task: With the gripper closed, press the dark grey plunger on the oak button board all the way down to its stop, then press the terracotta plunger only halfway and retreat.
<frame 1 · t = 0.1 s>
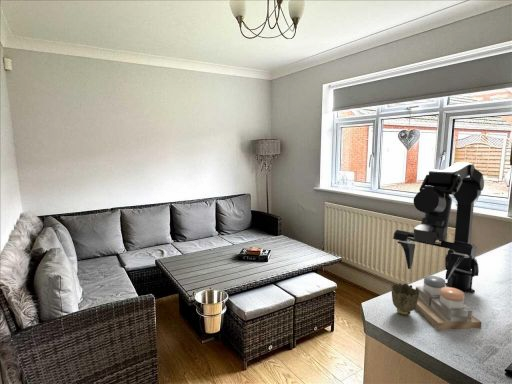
hand: (427, 273, 81), 15 cm above the counter, tool pointing down, fingers open, 9 cm apart
plunger terracotta: (451, 298, 86), point 7 cm above the counter, slide at 0.0 cm
button board: (440, 313, 91), on the counter
cup: (403, 314, 91), on the counter
plunger grey: (434, 286, 94), point 7 cm above the counter, slide at 0.0 cm
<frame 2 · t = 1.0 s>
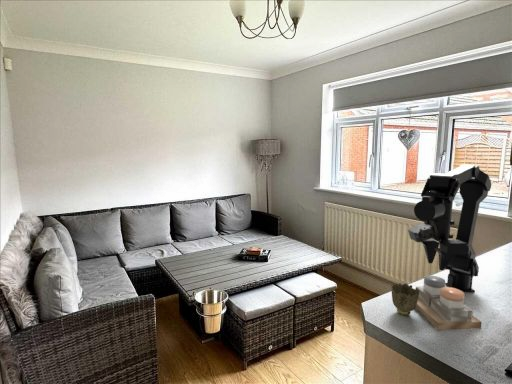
hand: (435, 266, 93), 13 cm above the counter, tool pointing down, fingers open, 5 cm apart
nothing on the counter moved.
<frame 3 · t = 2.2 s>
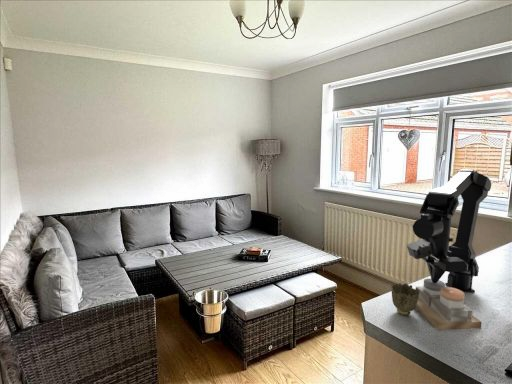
hand: (434, 282, 93), 8 cm above the counter, tool pointing down, fingers closed, pressing on plunger grey
plunger grey: (433, 289, 94), point 6 cm above the counter, slide at 1.0 cm, touching gripper
everything else where it was.
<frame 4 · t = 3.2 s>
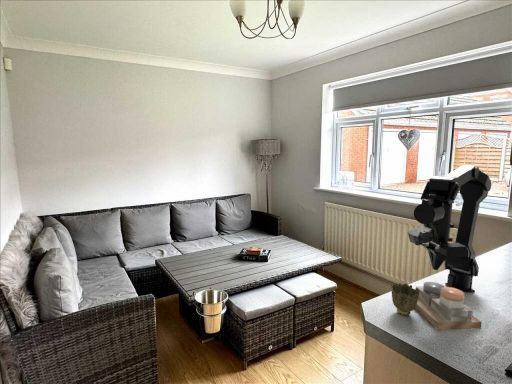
hand: (435, 269, 93), 12 cm above the counter, tool pointing down, fingers closed
plunger grey: (433, 292, 94), point 5 cm above the counter, slide at 2.1 cm
everything else where it was.
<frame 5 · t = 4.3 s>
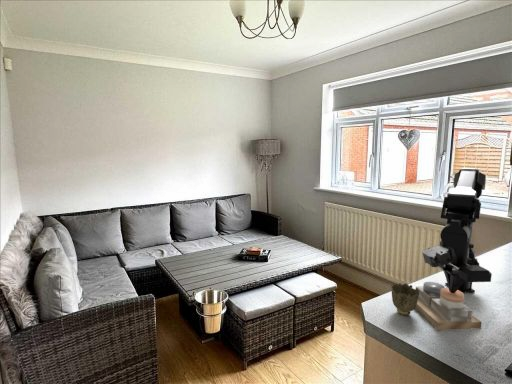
hand: (452, 292, 85), 9 cm above the counter, tool pointing down, fingers closed, pressing on plunger terracotta
plunger terracotta: (451, 299, 86), point 6 cm above the counter, slide at 0.3 cm, touching gripper
everything else where it was.
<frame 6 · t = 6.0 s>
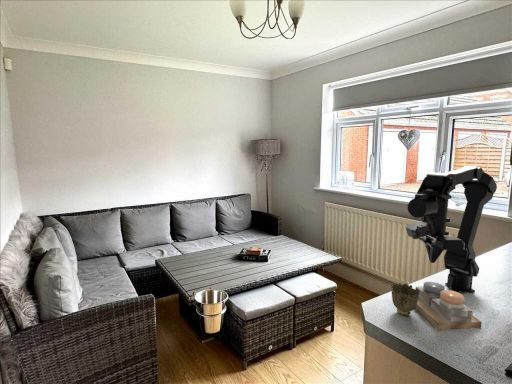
hand: (432, 262, 96), 13 cm above the counter, tool pointing down, fingers closed
plunger terracotta: (451, 302, 86), point 6 cm above the counter, slide at 1.0 cm
everything else where it was.
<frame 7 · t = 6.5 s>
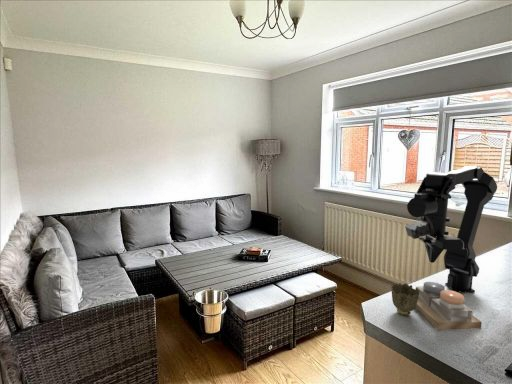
hand: (431, 262, 96), 13 cm above the counter, tool pointing down, fingers closed
nothing on the counter moved.
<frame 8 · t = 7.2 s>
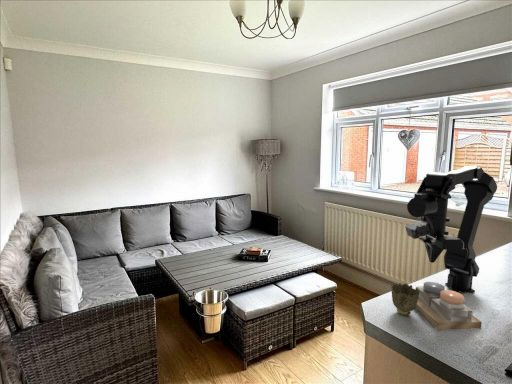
hand: (431, 262, 96), 13 cm above the counter, tool pointing down, fingers closed
nothing on the counter moved.
at the end: plunger grey slide at 2.1 cm; plunger terracotta slide at 1.0 cm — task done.
